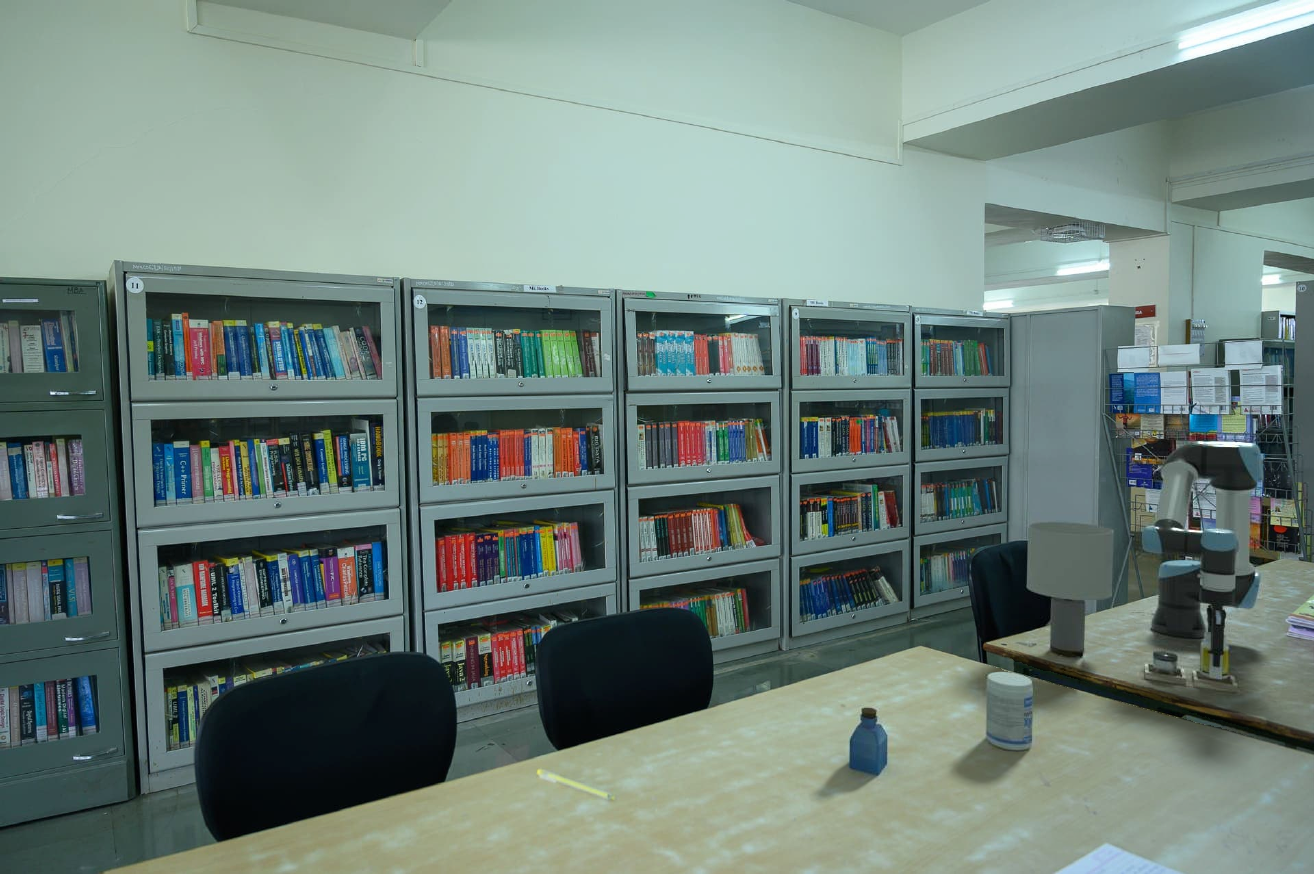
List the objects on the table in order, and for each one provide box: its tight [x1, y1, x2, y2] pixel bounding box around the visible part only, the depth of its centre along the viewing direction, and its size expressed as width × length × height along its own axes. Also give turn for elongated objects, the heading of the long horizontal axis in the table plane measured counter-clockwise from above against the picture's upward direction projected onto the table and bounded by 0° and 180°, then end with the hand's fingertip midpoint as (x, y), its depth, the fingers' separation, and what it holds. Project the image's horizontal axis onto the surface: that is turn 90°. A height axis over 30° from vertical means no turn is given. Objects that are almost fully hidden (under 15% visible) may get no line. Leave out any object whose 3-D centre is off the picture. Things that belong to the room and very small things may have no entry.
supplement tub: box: [985, 671, 1034, 751], centre depth 177 cm, size 10×10×15 cm
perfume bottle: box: [848, 707, 888, 777], centre depth 166 cm, size 6×6×12 cm
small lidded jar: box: [1152, 650, 1179, 676], centre depth 214 cm, size 6×6×6 cm
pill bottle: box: [1199, 631, 1230, 679], centre depth 209 cm, size 6×6×11 cm
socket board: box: [1140, 662, 1243, 695], centre depth 212 cm, size 11×22×3 cm, turn 59°
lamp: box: [1026, 521, 1115, 658], centre depth 237 cm, size 23×23×38 cm
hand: (1214, 673), depth 209 cm, fingers closed on pill bottle, 6 cm apart
